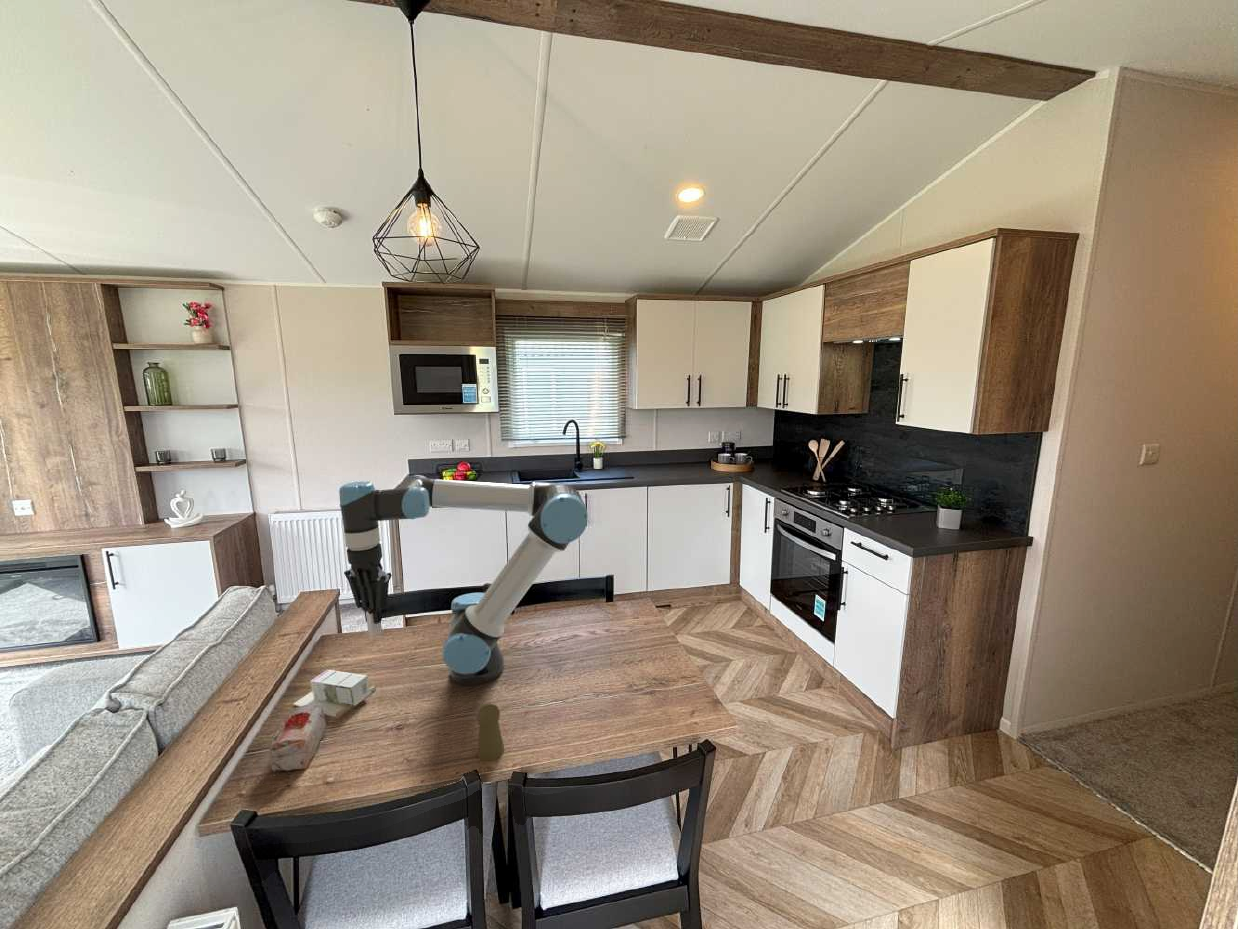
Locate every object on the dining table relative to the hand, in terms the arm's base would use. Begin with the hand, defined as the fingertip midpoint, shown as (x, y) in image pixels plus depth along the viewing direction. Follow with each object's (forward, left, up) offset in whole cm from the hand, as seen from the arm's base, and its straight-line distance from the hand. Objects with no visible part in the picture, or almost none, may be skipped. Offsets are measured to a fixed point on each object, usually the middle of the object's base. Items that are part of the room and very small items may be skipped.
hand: (375, 633), depth 125 cm
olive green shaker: (-35, +3, -22) cm, 41 cm away
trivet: (+17, 0, -22) cm, 27 cm away
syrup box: (+7, 0, -17) cm, 19 cm away
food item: (+7, +18, -22) cm, 29 cm away
